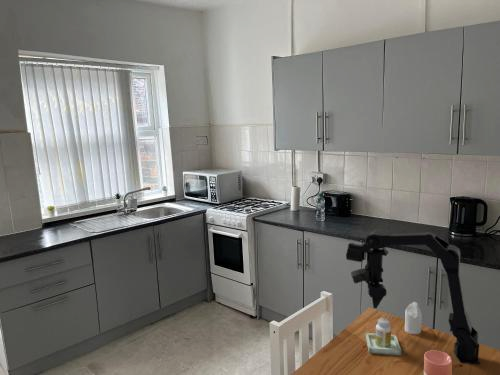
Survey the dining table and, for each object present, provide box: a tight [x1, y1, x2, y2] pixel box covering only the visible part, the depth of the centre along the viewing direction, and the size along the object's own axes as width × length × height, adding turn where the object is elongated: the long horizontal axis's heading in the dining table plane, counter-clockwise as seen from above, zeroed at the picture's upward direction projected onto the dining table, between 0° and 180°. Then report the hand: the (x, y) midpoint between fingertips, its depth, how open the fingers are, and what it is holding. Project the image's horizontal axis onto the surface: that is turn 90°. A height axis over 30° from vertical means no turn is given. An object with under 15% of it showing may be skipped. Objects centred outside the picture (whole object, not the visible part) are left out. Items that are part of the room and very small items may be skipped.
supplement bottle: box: [375, 317, 392, 348], centre depth 139 cm, size 5×5×10 cm
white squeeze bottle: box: [404, 301, 423, 335], centre depth 149 cm, size 6×12×6 cm
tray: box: [365, 332, 402, 356], centre depth 140 cm, size 11×10×2 cm
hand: (373, 302), depth 147 cm, fingers open, 9 cm apart
